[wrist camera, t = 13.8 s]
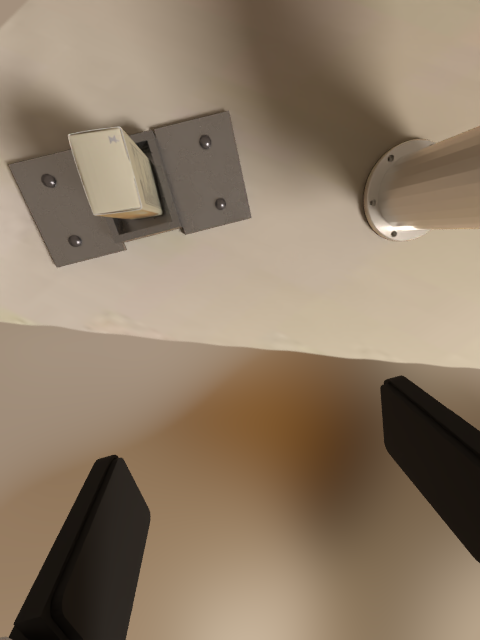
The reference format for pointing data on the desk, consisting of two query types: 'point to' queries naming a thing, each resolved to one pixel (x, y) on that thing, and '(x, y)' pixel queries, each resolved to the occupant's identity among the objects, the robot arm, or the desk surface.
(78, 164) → the skincare box
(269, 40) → the desk surface
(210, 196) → the hinge base
